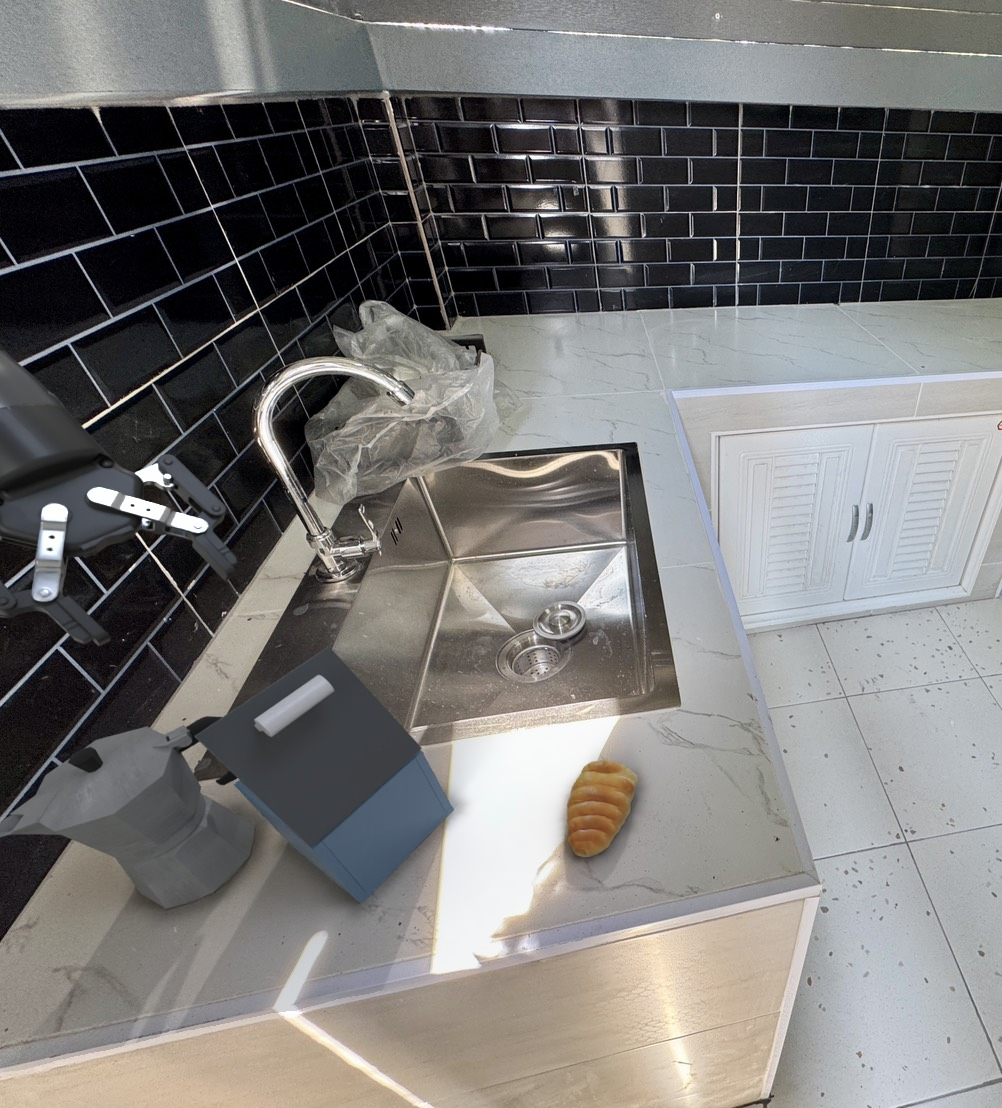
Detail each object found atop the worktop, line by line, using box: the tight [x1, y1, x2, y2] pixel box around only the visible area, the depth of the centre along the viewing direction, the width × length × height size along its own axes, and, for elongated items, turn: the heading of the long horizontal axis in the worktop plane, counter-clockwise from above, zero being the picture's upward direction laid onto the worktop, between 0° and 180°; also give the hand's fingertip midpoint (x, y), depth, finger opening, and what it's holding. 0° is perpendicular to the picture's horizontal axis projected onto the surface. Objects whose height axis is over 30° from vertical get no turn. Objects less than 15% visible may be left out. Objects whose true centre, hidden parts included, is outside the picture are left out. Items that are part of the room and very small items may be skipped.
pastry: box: [566, 759, 639, 858], centre depth 62 cm, size 9×7×4 cm
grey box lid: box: [195, 645, 423, 847], centre depth 49 cm, size 12×11×6 cm
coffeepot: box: [0, 715, 256, 910], centre depth 54 cm, size 15×9×18 cm, turn 136°
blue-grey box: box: [233, 749, 455, 905], centre depth 58 cm, size 12×11×11 cm
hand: (171, 607), depth 46 cm, fingers open, 8 cm apart
